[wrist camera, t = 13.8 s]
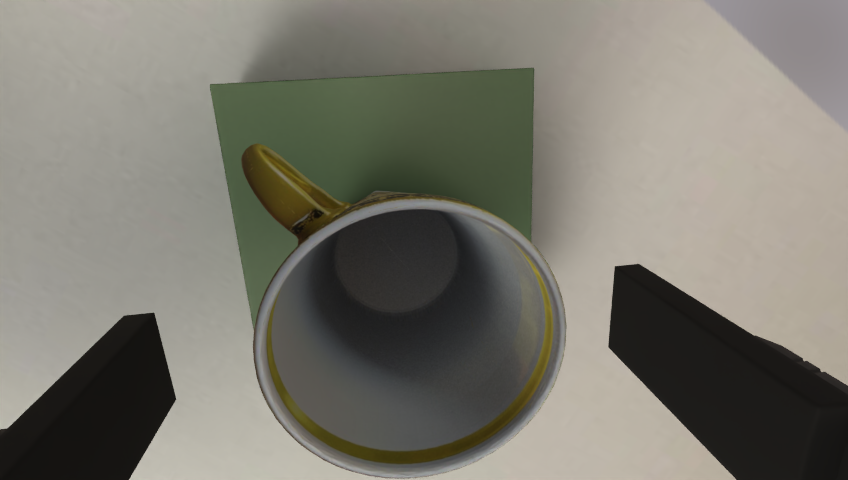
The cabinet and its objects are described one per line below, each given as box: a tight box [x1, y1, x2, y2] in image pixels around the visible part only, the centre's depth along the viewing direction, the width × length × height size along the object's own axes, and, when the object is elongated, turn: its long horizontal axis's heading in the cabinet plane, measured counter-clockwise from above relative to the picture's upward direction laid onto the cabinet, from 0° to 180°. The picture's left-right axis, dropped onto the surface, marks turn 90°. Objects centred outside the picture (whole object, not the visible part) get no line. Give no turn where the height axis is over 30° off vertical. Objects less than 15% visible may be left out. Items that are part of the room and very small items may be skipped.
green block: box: [210, 68, 534, 329], centre depth 26 cm, size 15×15×5 cm
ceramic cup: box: [241, 143, 566, 478], centre depth 19 cm, size 13×10×10 cm
